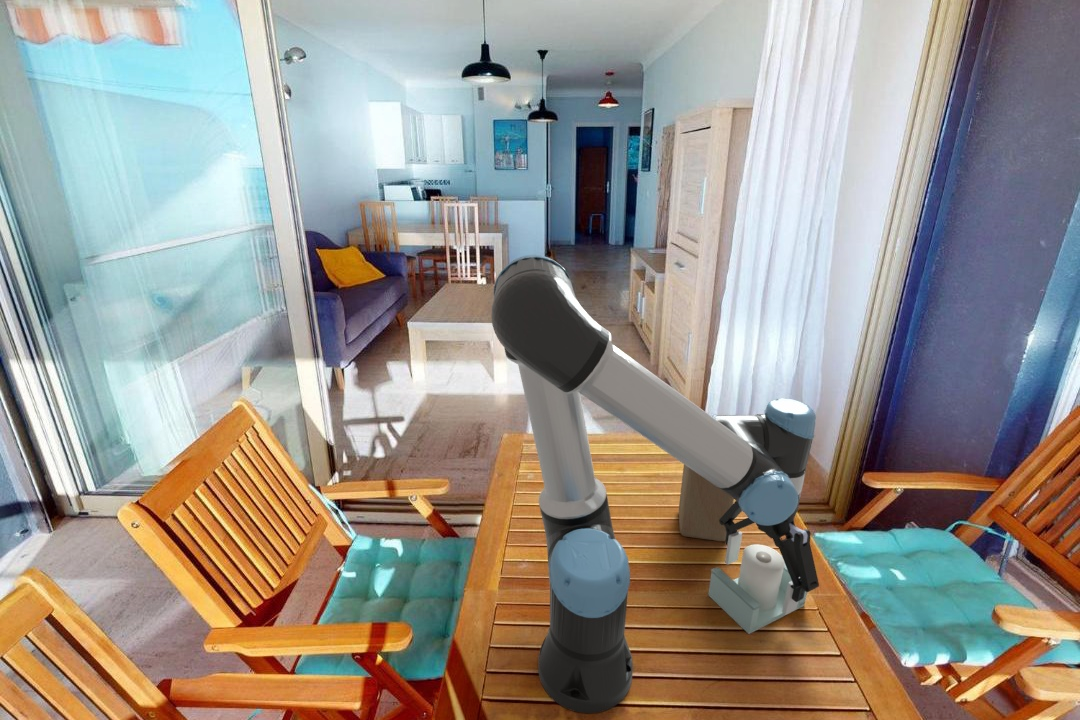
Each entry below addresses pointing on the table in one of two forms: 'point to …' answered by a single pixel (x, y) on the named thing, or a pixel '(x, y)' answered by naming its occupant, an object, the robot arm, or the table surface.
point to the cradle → (747, 601)
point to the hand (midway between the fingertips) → (758, 584)
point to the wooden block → (702, 507)
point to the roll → (761, 574)
